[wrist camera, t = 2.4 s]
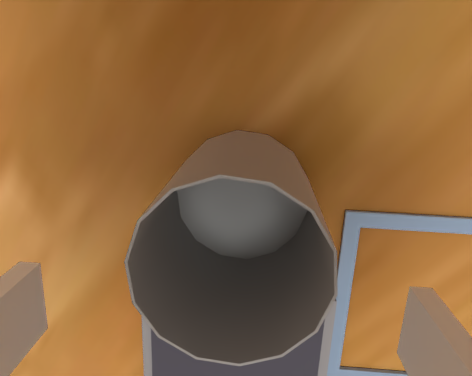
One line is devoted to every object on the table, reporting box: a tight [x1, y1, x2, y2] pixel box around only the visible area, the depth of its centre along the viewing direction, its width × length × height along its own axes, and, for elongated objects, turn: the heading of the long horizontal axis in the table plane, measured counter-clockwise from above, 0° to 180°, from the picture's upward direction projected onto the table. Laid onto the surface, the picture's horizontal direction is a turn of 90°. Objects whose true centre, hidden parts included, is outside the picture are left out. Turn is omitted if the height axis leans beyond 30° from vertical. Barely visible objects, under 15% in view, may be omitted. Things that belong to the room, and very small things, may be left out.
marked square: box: [327, 210, 472, 376], centre depth 26 cm, size 13×13×1 cm
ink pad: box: [142, 299, 337, 376], centre depth 28 cm, size 13×13×1 cm
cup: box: [124, 130, 338, 366], centre depth 20 cm, size 8×8×10 cm
